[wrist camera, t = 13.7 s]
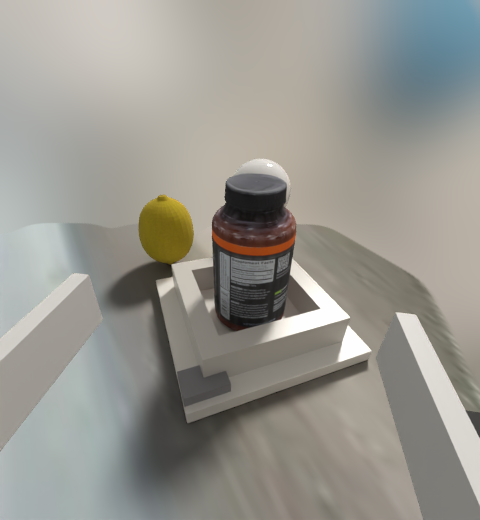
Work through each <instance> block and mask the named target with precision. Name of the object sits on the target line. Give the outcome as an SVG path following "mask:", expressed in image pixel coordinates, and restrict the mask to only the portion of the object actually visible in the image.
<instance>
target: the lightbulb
mask: <svg viewBox="0 0 480 520" xmlns="http://www.w3.org/2000/svg"><path fill="white" fill-rule="evenodd" d="M246 173H256V174H267V175H272V176H276V177H278V178H280V179H282V180H284V181H285V182H286V184H287V191H286V203H285V204H284V207H286V205H287V203H288V200H289V197H290V191H291V187H290V181H289V178H288V176H287V174H286V172H285V171H284V169H283V168H282V167H281V166H280V165H278V164H277V163H275V162H273V161H271V160H268V159H254V160H251V161H248V162H246V163H244V164H243V165H242V166H241V167H240V168H239V169H238V170H237V171H236V172H235V174H234V176H235V175H239V174H246Z"/></svg>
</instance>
